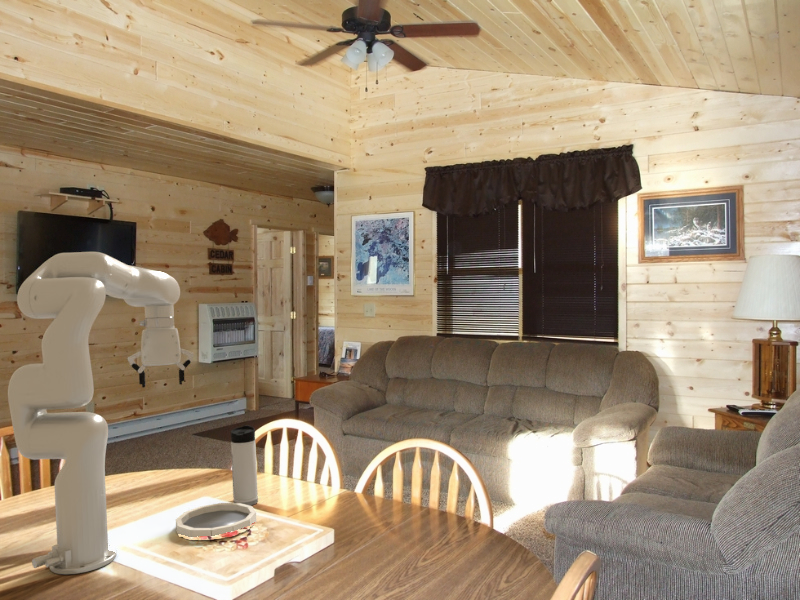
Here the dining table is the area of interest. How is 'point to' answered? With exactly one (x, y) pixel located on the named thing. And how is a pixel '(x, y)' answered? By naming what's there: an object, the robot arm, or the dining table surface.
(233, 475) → the travel mug
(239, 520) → the round tray
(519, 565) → the dining table surface
